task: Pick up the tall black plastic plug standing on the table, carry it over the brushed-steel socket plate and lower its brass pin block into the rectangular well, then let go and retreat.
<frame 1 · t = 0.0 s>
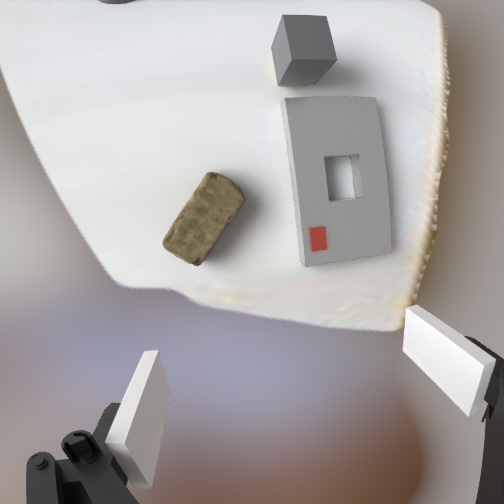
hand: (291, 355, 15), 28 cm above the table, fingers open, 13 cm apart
plug: (289, 71, 37), on the table
socket plate: (336, 178, 41), on the table
stone block: (205, 216, 41), on the table
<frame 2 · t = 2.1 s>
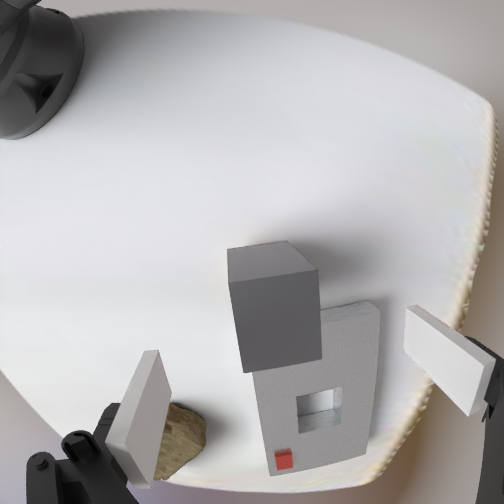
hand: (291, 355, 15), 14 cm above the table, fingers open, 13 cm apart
plug: (258, 271, 29), on the table
socket plate: (313, 395, 33), on the table
stone block: (167, 430, 33), on the table
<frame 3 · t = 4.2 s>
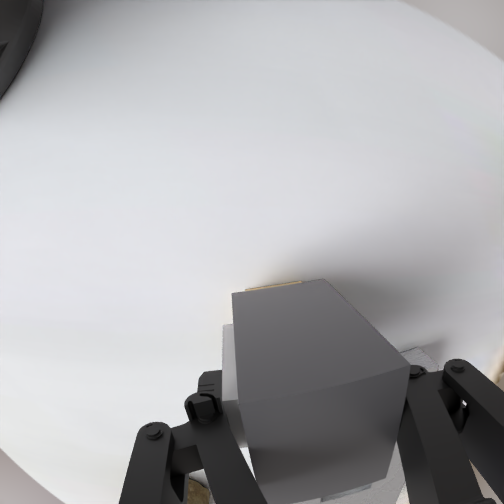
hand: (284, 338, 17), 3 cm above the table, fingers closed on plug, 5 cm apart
plug: (277, 318, 19), on the table, touching gripper
socket plate: (339, 458, 23), on the table
stone block: (162, 494, 23), on the table
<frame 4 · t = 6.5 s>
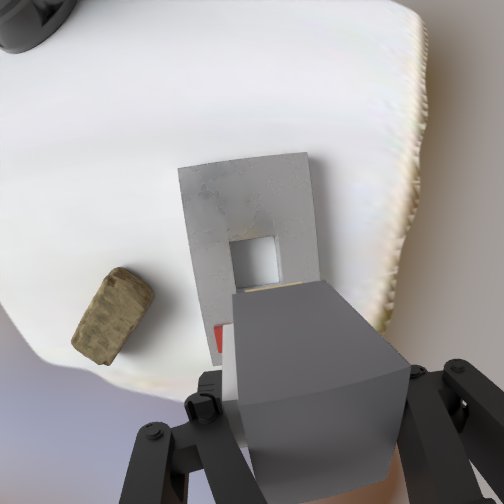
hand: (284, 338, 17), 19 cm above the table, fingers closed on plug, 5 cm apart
plug: (277, 319, 19), point 16 cm above the table, touching gripper
socket plate: (254, 260, 35), on the table
stone block: (118, 310, 35), on the table
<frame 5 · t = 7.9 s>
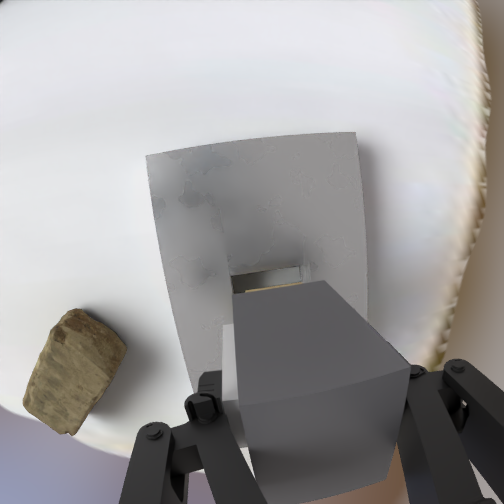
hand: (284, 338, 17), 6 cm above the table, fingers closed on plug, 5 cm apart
plug: (277, 319, 19), point 3 cm above the table, touching gripper
socket plate: (269, 298, 23), on the table
stone block: (81, 362, 23), on the table
when the fingers open (5 cm above the table, at t = 8.8 s): plug drops 2 cm, resting on socket plate.
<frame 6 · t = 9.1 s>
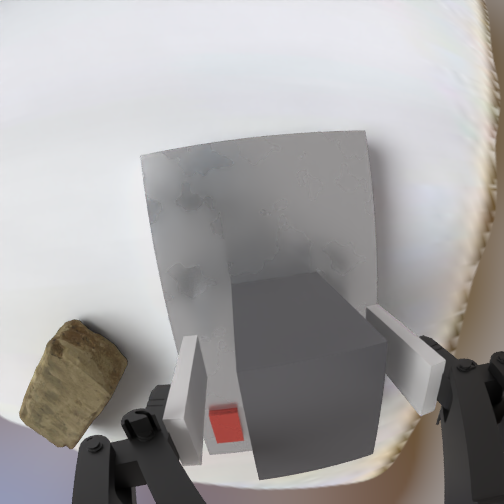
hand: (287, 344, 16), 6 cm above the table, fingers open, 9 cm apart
plug: (273, 309, 21), resting on socket plate
socket plate: (272, 307, 21), on the table
stone block: (80, 374, 22), on the table
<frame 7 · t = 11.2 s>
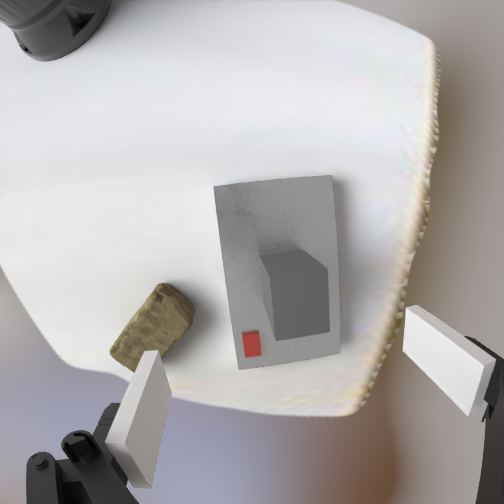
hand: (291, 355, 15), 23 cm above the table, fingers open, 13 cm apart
plug: (280, 272, 37), resting on socket plate
socket plate: (279, 272, 38), on the table
stone block: (156, 322, 38), on the table
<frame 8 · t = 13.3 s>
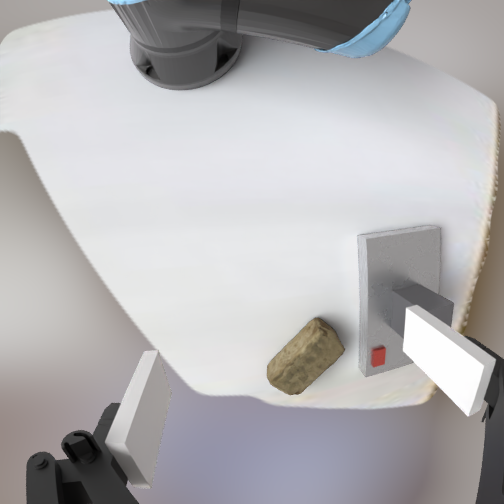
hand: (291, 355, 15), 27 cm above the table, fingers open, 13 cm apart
plug: (396, 299, 44), resting on socket plate
socket plate: (396, 299, 44), on the table
stone block: (301, 349, 45), on the table
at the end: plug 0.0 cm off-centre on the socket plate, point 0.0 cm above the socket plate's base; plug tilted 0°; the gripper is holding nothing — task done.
